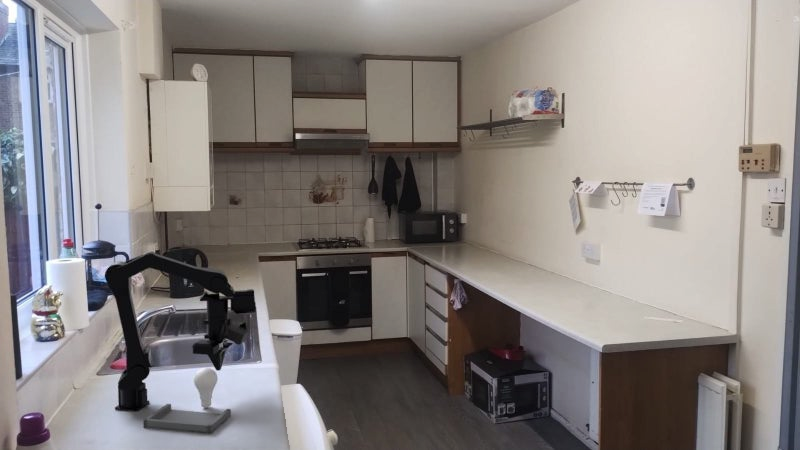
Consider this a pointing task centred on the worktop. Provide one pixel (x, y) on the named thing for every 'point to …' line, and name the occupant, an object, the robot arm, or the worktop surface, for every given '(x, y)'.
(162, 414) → the tray
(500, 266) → the worktop surface
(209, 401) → the lightbulb
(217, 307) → the robot arm
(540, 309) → the worktop surface
